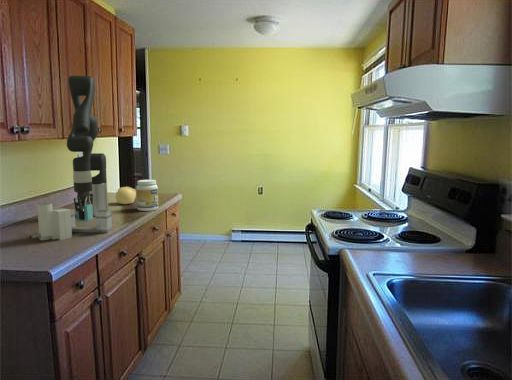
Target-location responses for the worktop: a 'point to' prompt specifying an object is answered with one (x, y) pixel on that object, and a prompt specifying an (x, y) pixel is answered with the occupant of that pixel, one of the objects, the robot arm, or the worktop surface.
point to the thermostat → (53, 222)
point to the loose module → (86, 213)
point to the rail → (89, 229)
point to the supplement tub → (147, 195)
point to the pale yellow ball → (125, 195)
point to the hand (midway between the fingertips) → (85, 218)
